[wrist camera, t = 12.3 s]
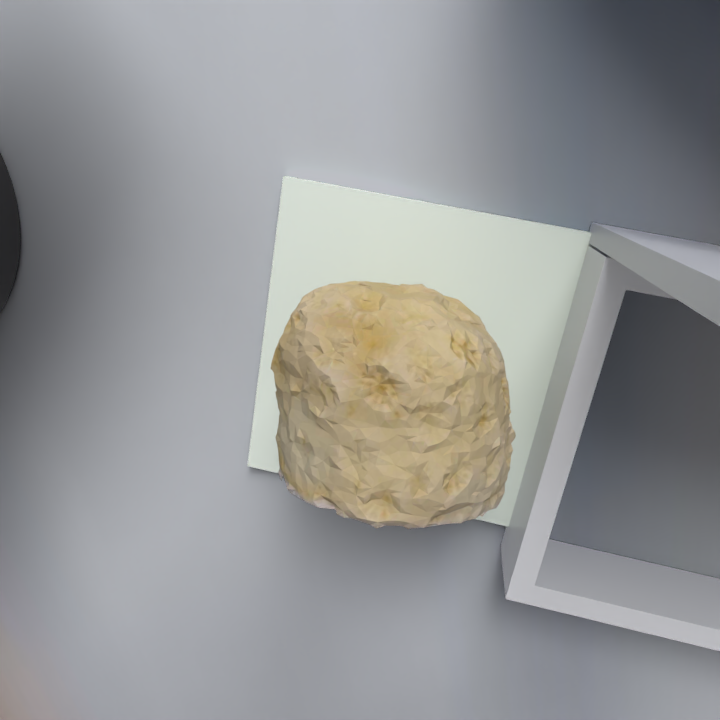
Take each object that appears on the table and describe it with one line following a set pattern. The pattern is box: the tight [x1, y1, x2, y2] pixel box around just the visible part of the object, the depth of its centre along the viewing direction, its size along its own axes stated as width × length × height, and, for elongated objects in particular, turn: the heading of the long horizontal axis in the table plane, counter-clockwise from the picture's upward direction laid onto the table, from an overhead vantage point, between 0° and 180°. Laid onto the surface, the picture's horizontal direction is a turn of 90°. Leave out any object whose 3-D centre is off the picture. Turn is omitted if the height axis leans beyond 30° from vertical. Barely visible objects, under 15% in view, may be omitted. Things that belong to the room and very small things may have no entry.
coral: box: [271, 281, 516, 529], centre depth 24 cm, size 10×10×10 cm
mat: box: [247, 176, 594, 527], centre depth 29 cm, size 14×14×1 cm
